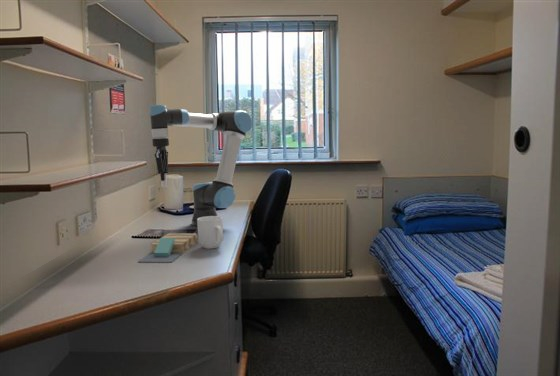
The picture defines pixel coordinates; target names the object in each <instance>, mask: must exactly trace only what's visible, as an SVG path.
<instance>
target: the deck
mask: <svg viewBox="0 0 560 376" xmlns="http://www.w3.org/2000/svg"><path fill="white" fill-rule="evenodd" d="M161 238H174V240H175V243H174V245H173V248H172V250H171V252H183V254H184V253H185V252H187V251H188V250H189V249H191V247H193V246H194V245H195V244H197V243H198V233H167V234H165V235H163V236H162V237H161ZM159 240H160V238H158V239H157V240H156V241H153V242H152V243H151V244H150V249H151V252H155V249H156V247H157V245H158V242H159Z"/></svg>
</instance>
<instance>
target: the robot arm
mask: <svg viewBox="0 0 560 376" xmlns="http://www.w3.org/2000/svg"><path fill="white" fill-rule="evenodd" d="M149 108H150V109H149V116H150V126H151V131H150V134H151V137H152V141H151V142H152V146H153V147H154V148H155V147H156V151H155V153H154V157H155V162H156V168H157V174H158V175H159V179H160V187H161V188H168V175H167V174H169V160H168V159H169V152H168V151H167V148H166V147H168V146H169V145H170V140H169V127H182V128H183V127H184V128H186V127H187V128H198V129H199V128H200V129H208V130H209V131H216V132H221V133H222V132H223V133H224V134H225V140H224V144H223V148H222V151H221V156H220V159H219V165H218V168H217V173H216V176H215V178H214V179H212V181H211V182H202V183H195V184H194V185H193V187H192V193H193V209H194V210H193V211H194V212H193V214H192V219H191V225H192V226H194V227H198V226H197V219H198V218H200V217H205V216H218V213H217V210H216V208H218V209H227V208H229V207H231V206H232V205H233V204H234V202H235V200H236V193H235V192H236V191H235V188H234V183H233V182H232V181H233V177H234V174H235V173H234V172H235V168H236V165H237V160H238V156H239V152H240V148H241V144H242V140H243V139H246V134H247V133H249V131H251V130H252V127H253V120H252V118H251V115H250V114H249V112H246V111H245V110H232V111H224V112H210V113H208V114H205V113H195V112H189V111H188V110H186V109H185V108H174V109H168V108H167V105H165V104H153V105H150V107H149Z"/></svg>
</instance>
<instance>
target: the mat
mask: <svg viewBox="0 0 560 376" xmlns="http://www.w3.org/2000/svg"><path fill="white" fill-rule="evenodd" d="M183 254H184V253H183V252H171V253H170V255H169V256H155V254H154V252H152V251H151V252H150V253H148V254H147V255H146V256H144V257H143V258H141V259H140V260H138V261H137V263H148V264H149V263H151V264H152V263H153V264H154V263H157V264H158V263H159V264H160V263H166V264H167V263H168V264H170V263H171V264H172V263H174V262H175V260H177V259H178V258H179V257H180V256H182V255H183Z"/></svg>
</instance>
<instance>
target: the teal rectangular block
mask: <svg viewBox="0 0 560 376" xmlns="http://www.w3.org/2000/svg"><path fill="white" fill-rule="evenodd" d="M159 239H160V240H159V242H158V245H157V247H156V249H155V252H154V254H155V256H169V255H170V253H171V250H172V248H173V245H174V243H175V240H174V238H162V237H160V238H159Z"/></svg>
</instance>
